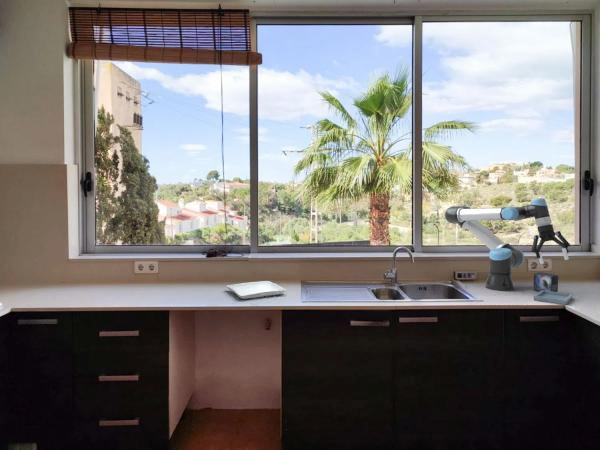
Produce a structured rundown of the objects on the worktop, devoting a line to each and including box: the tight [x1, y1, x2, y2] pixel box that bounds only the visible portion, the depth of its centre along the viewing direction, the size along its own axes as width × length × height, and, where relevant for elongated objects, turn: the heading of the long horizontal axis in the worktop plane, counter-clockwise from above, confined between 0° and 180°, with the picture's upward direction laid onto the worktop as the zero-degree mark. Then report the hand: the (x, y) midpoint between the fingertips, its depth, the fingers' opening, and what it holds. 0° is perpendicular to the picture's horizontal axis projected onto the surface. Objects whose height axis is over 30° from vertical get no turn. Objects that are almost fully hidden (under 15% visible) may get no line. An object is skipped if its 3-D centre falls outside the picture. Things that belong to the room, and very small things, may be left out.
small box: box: [532, 271, 559, 293], centre depth 216 cm, size 11×6×10 cm, turn 23°
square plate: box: [226, 280, 287, 300], centre depth 217 cm, size 27×27×4 cm
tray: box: [533, 290, 574, 306], centre depth 200 cm, size 14×18×2 cm
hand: (554, 261), depth 215 cm, fingers open, 13 cm apart
